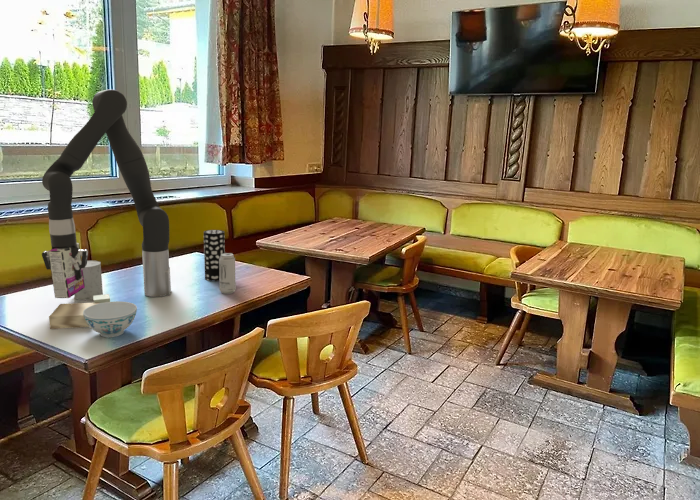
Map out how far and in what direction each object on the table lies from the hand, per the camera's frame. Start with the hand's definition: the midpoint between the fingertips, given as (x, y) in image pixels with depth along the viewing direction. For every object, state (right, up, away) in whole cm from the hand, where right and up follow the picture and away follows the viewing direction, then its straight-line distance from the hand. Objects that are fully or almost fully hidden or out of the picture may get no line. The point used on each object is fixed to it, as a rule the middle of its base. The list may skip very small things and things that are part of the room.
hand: (68, 280), depth 179 cm
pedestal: (+7, -13, -8) cm, 16 cm away
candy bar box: (0, -5, +1) cm, 5 cm away
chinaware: (+22, -16, -16) cm, 32 cm away
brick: (+11, -11, +2) cm, 15 cm away
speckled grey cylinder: (-1, -7, +16) cm, 18 cm away
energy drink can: (+48, -6, +27) cm, 55 cm away
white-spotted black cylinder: (+39, -2, +44) cm, 58 cm away
